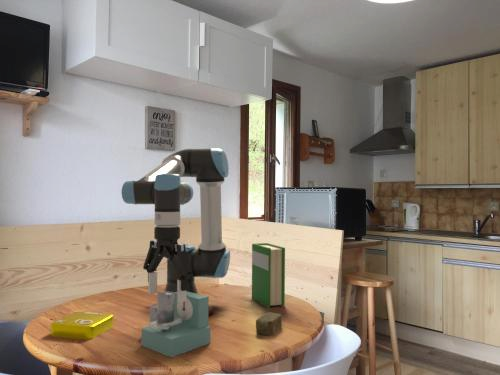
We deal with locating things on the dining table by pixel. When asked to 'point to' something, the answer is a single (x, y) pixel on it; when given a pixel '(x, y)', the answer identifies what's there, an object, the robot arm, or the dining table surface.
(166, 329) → the platform
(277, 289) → the hardback book
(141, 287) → the dining table surface
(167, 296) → the cylinder
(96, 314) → the element tile
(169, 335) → the scale body
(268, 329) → the stone block
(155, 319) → the cylinder
